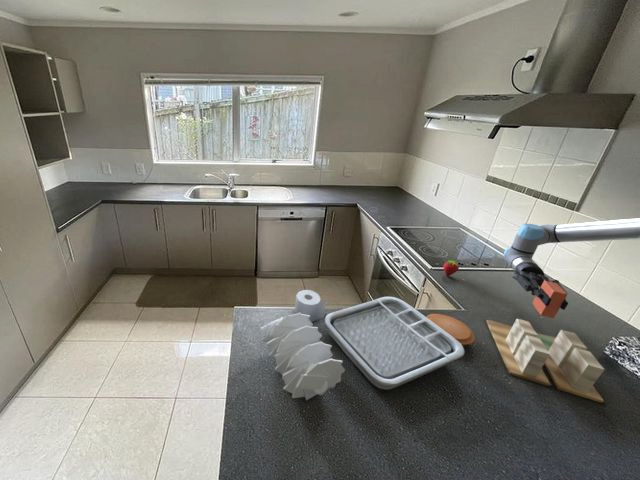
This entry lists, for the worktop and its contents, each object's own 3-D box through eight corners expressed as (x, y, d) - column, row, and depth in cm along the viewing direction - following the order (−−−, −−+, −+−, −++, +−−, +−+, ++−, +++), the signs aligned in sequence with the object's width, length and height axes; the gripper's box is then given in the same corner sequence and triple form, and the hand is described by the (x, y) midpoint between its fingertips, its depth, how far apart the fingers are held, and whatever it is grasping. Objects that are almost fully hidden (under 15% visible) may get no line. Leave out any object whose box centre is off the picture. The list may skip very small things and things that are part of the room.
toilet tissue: (330, 315, 113) (333, 298, 109) (303, 325, 107) (305, 307, 104) (316, 302, 120) (318, 285, 117) (290, 310, 114) (291, 293, 111)
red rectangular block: (532, 303, 102) (543, 280, 98) (544, 306, 101) (556, 283, 97) (540, 315, 96) (553, 291, 92) (553, 318, 95) (567, 294, 91)
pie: (477, 357, 96) (483, 346, 94) (427, 344, 100) (430, 333, 98) (464, 327, 109) (468, 317, 107) (419, 316, 114) (423, 306, 112)
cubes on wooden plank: (523, 331, 108) (535, 308, 104) (557, 340, 104) (571, 317, 100) (557, 389, 86) (575, 363, 81) (602, 403, 82) (623, 376, 78)
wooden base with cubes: (486, 321, 112) (496, 299, 108) (517, 329, 109) (528, 307, 104) (509, 374, 90) (523, 348, 86) (549, 386, 86) (566, 360, 82)
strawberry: (458, 277, 142) (464, 260, 138) (448, 280, 139) (455, 263, 135) (446, 271, 147) (452, 254, 143) (437, 274, 144) (443, 257, 140)
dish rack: (316, 330, 105) (318, 313, 102) (389, 308, 118) (394, 292, 115) (378, 408, 78) (384, 389, 75) (465, 369, 91) (473, 351, 88)
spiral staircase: (291, 349, 101) (331, 413, 79) (250, 343, 93) (281, 413, 71) (314, 307, 98) (362, 362, 76) (273, 297, 90) (313, 355, 68)
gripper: (549, 283, 111) (584, 321, 91) (498, 272, 117) (520, 306, 97) (558, 267, 108) (596, 302, 88) (505, 257, 114) (529, 288, 94)
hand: (556, 304), depth 92 cm, fingers closed on red rectangular block, 3 cm apart
